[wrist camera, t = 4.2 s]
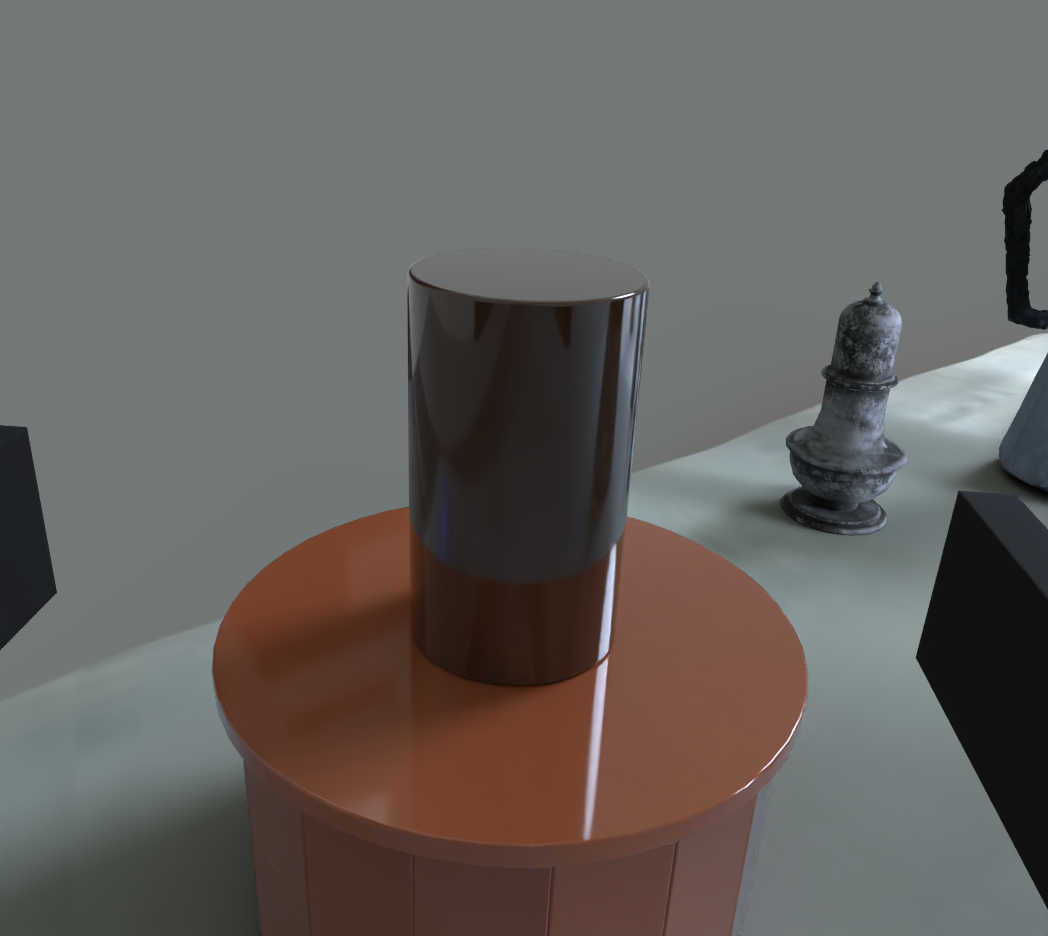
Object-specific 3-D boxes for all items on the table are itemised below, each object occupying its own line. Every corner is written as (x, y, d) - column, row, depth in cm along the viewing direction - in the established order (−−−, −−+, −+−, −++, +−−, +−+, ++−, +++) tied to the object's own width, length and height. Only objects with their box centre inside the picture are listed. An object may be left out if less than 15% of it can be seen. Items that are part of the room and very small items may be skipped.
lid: (753, 547, 31) (804, 229, 27) (869, 926, 18) (1008, 413, 14) (310, 516, 32) (293, 201, 28) (102, 858, 18) (8, 349, 14)
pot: (712, 726, 33) (742, 538, 30) (780, 1129, 21) (842, 879, 18) (330, 695, 34) (320, 507, 31) (176, 1069, 22) (135, 817, 19)
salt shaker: (752, 495, 51) (787, 271, 46) (838, 480, 53) (879, 265, 48) (827, 545, 46) (875, 301, 41) (918, 526, 48) (973, 292, 43)
